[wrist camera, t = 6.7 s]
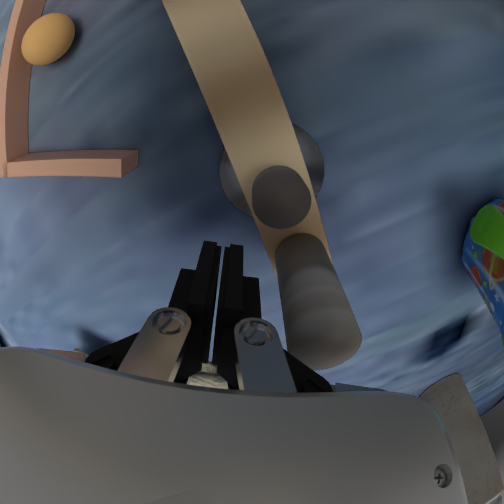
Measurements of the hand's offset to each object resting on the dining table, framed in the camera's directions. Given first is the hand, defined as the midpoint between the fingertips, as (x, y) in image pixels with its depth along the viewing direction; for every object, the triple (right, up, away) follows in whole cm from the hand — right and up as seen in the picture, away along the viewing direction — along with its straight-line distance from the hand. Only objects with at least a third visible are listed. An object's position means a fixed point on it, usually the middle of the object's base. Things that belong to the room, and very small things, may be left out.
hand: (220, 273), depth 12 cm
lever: (+1, +9, +1) cm, 9 cm away
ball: (-12, +14, -2) cm, 19 cm away
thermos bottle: (+30, -20, +20) cm, 42 cm away
